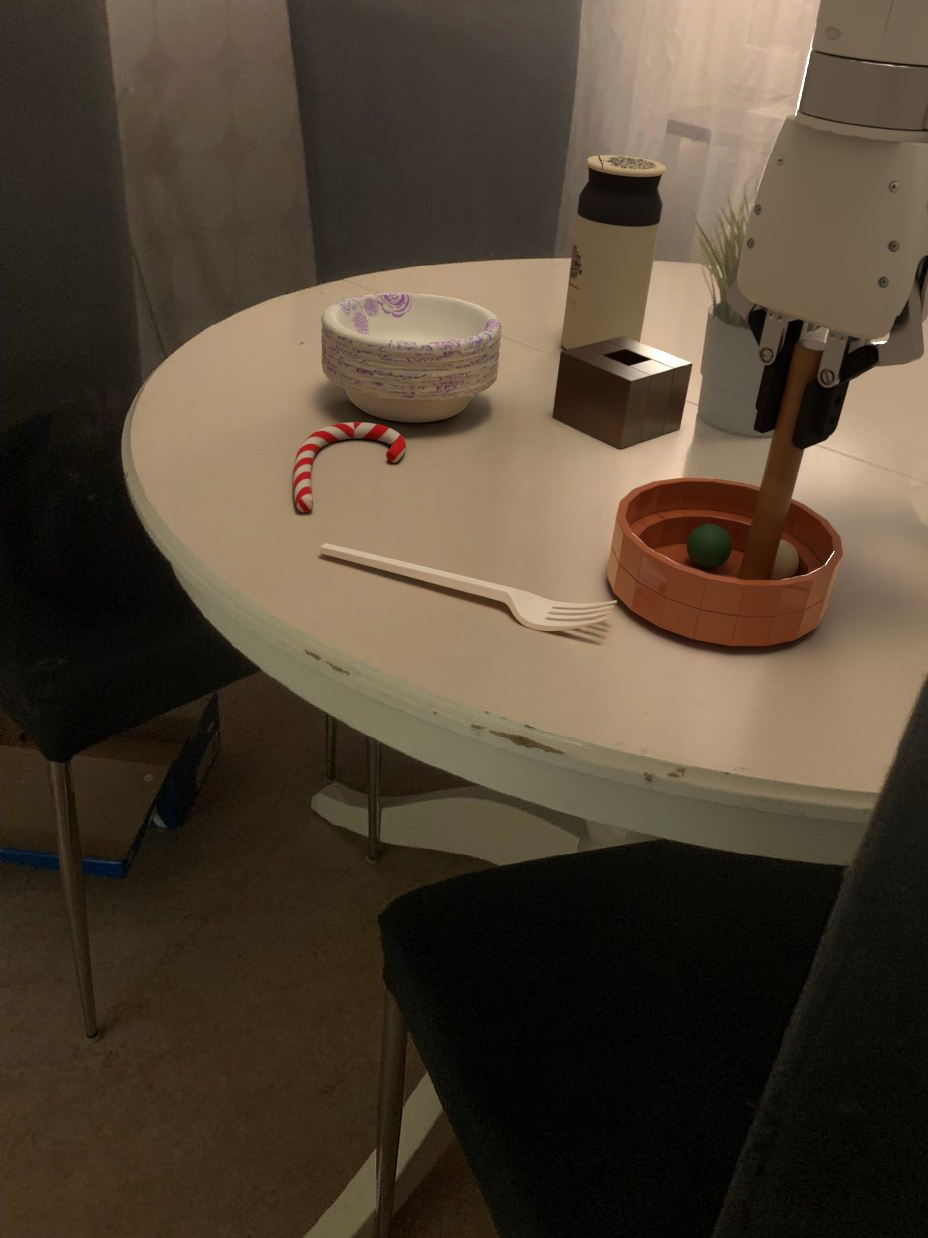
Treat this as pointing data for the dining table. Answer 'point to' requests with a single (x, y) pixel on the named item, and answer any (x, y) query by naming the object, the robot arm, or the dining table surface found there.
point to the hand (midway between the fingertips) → (791, 432)
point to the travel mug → (613, 250)
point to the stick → (780, 467)
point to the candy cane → (333, 434)
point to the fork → (489, 592)
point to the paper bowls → (410, 353)
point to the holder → (621, 391)
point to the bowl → (715, 598)
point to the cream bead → (785, 562)
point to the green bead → (709, 546)
